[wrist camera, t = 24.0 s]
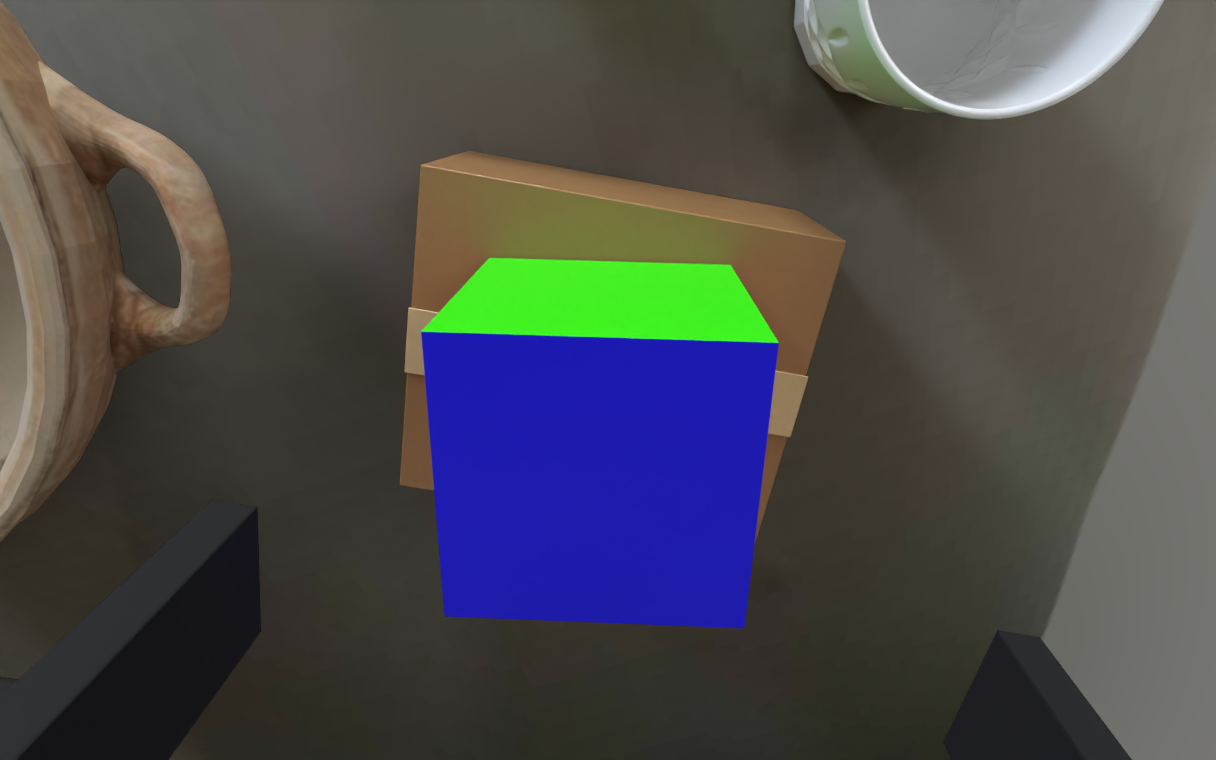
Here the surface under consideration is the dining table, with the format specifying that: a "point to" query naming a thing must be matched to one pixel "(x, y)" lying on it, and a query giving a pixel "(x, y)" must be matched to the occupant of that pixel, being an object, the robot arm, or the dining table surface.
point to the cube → (598, 441)
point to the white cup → (968, 50)
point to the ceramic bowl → (81, 268)
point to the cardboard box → (612, 231)
